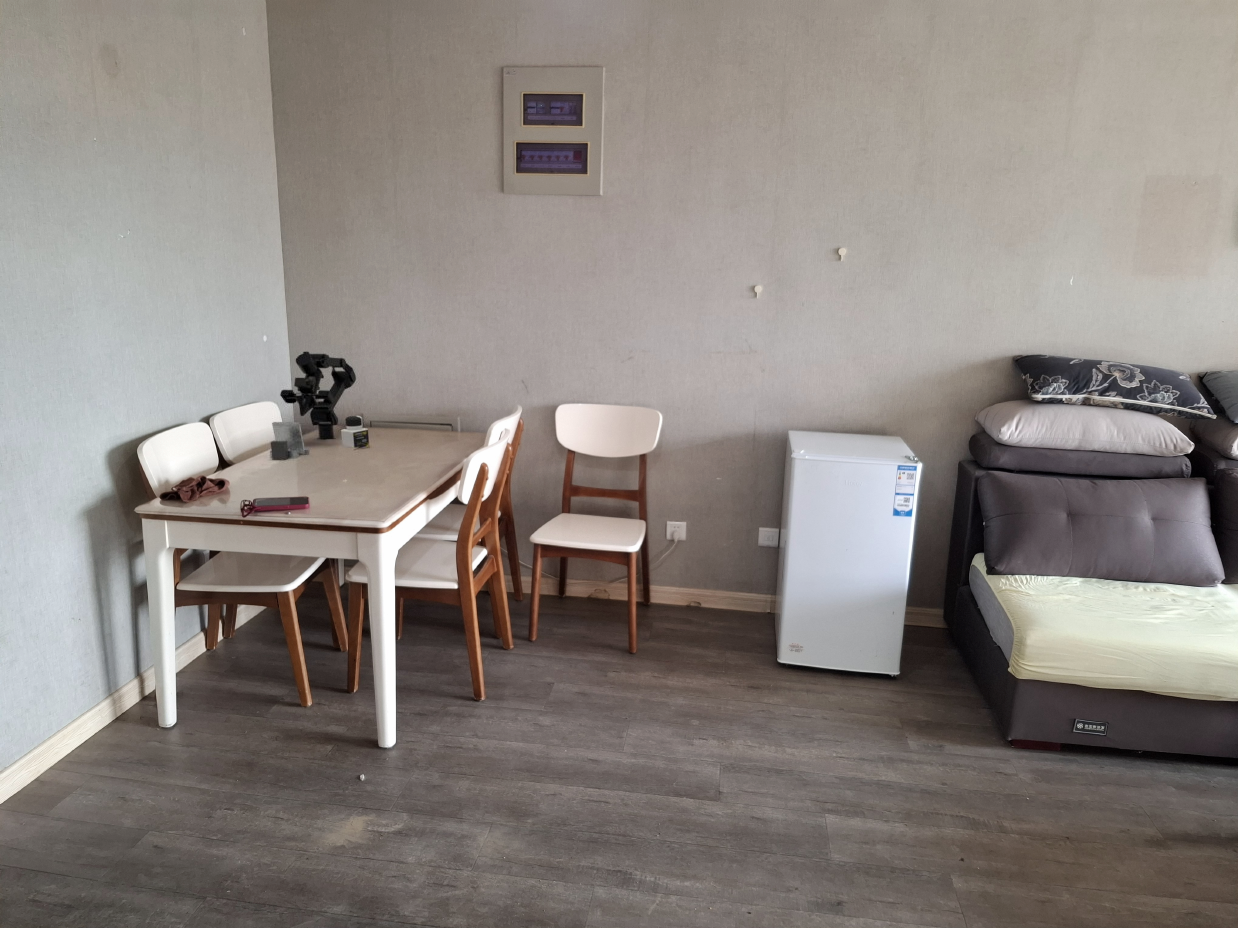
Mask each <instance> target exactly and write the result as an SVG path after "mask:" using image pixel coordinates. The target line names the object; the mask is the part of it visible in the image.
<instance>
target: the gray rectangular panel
mask: <svg viewBox="0 0 1238 928" xmlns="http://www.w3.org/2000/svg"><path fill="white" fill-rule="evenodd" d="M271 425H272V430H273V435H274V441H287V447H288V449H298V455H305V452H304V450H306V448H305V444H304V438H303V434H302V428H301V422H300V421H273V422H271Z"/></svg>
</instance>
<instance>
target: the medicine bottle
mask: <svg viewBox="0 0 1238 928" xmlns="http://www.w3.org/2000/svg"><path fill="white" fill-rule="evenodd" d="M363 426H364V425H363V417H361V416H360V415H351V416H347V417H346V418H345V428H344V429H341V434H340V435H341V442H342V443H341V445H342V446H343V447H347V448H348V447H349V448H353V450H354V451H356V450H361V449H365V448H370V439H369V429H368V428H365V427H363Z"/></svg>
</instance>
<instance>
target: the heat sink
mask: <svg viewBox="0 0 1238 928" xmlns="http://www.w3.org/2000/svg"><path fill="white" fill-rule="evenodd" d="M304 452H305V454H304V455H307V456H308V455H310V450H309V449H305V450H304ZM299 455H300V454H298V449H288V447H287V441H275V440H272V441H270V450H269V456H270V459H272V461H288V460H289V459H297V458H299Z"/></svg>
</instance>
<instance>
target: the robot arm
mask: <svg viewBox="0 0 1238 928" xmlns="http://www.w3.org/2000/svg"><path fill="white" fill-rule="evenodd" d="M295 363H296V365H297V366H298V369H300V371H301V372H302V373H303V374H305V375H304V377H295V378H294V385H293V386H294V387H296V388H297V389H296V390H297V392H294V390H293V389H282V390H281V391H280V394H279V396H280V397H281V399H282V400H283V402H285V404H295V403H297V404H298V407H299V415H300V416H301V417H304V416H305V415H306V414H307V413H308V412H309V417H310V420H311V424H312V426H317V429H318V431H317V432H318V437H317V438H316V439H317V440H326V441H327V440H337V438H336V437H335V433H334V432H335V431H334V426H338V425H339V424H338V423H339V418H338V416H337V415H336V413H335V410H334V408H335V407H336V405H337V403H338V402H339V401H340V399H341V397H342V396H343V393H344V392H345V390H347V389H349V388H352V386H354V384H355V382H356V380H357V376H356V373H355V371H354V368H353V367H352V366H351V365H350V364H348V362H346V359H345V358H344V357H331V356H330V355H329V354H326V353H310V351H303V352H302V353H301V354H299V355H298V356H297V357H296V358H295ZM328 368H332V370H331V373H330V375H331V377H332V379H333V384H332V386H331V387H330V389H327V390H326V389H325V390H324V389H321V387H320V383H321V381H322V380H321V379H324V378H325V377H324V374H323V371H322V370H321V369H328ZM337 368H338V369H339V368H340V369H343V370H336V369H337ZM320 400H321V401H320Z"/></svg>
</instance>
